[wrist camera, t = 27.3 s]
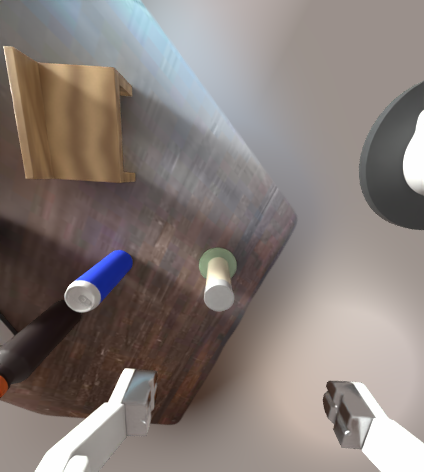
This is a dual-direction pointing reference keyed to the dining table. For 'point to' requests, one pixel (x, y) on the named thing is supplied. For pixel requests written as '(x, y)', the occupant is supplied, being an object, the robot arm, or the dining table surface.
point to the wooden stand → (68, 119)
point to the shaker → (218, 285)
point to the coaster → (217, 253)
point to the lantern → (5, 331)
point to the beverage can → (98, 282)
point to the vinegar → (35, 343)
